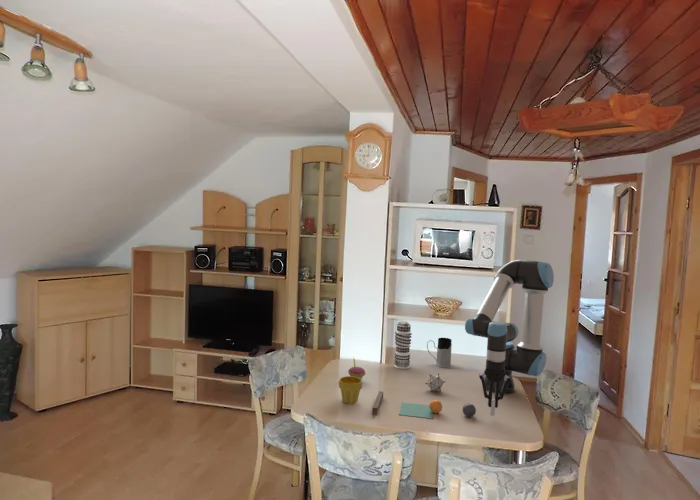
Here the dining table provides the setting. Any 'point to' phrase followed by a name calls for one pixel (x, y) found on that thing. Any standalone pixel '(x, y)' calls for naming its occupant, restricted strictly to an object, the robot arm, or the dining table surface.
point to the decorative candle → (402, 345)
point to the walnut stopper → (377, 403)
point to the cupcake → (356, 371)
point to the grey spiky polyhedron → (435, 382)
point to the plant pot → (350, 388)
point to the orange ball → (435, 406)
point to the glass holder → (443, 352)
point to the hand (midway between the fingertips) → (492, 414)
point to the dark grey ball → (469, 410)
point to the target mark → (416, 410)
